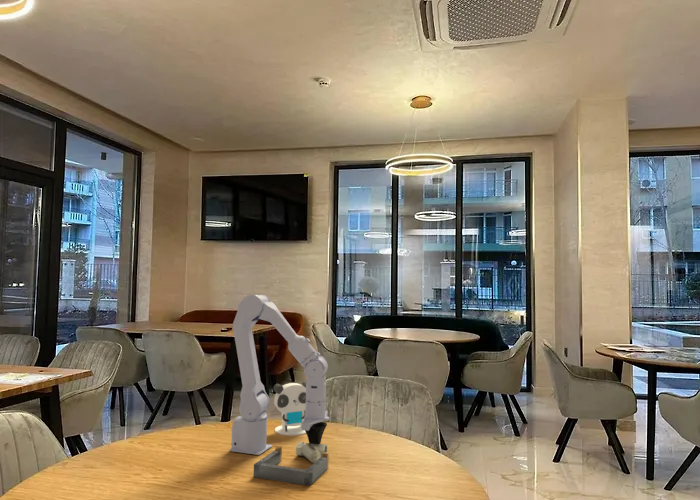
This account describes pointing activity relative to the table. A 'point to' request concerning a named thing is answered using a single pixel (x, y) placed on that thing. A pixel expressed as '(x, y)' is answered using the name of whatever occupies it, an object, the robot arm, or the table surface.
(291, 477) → the grey u-shaped frame
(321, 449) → the pipe fitting
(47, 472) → the table surface
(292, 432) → the panda figurine
